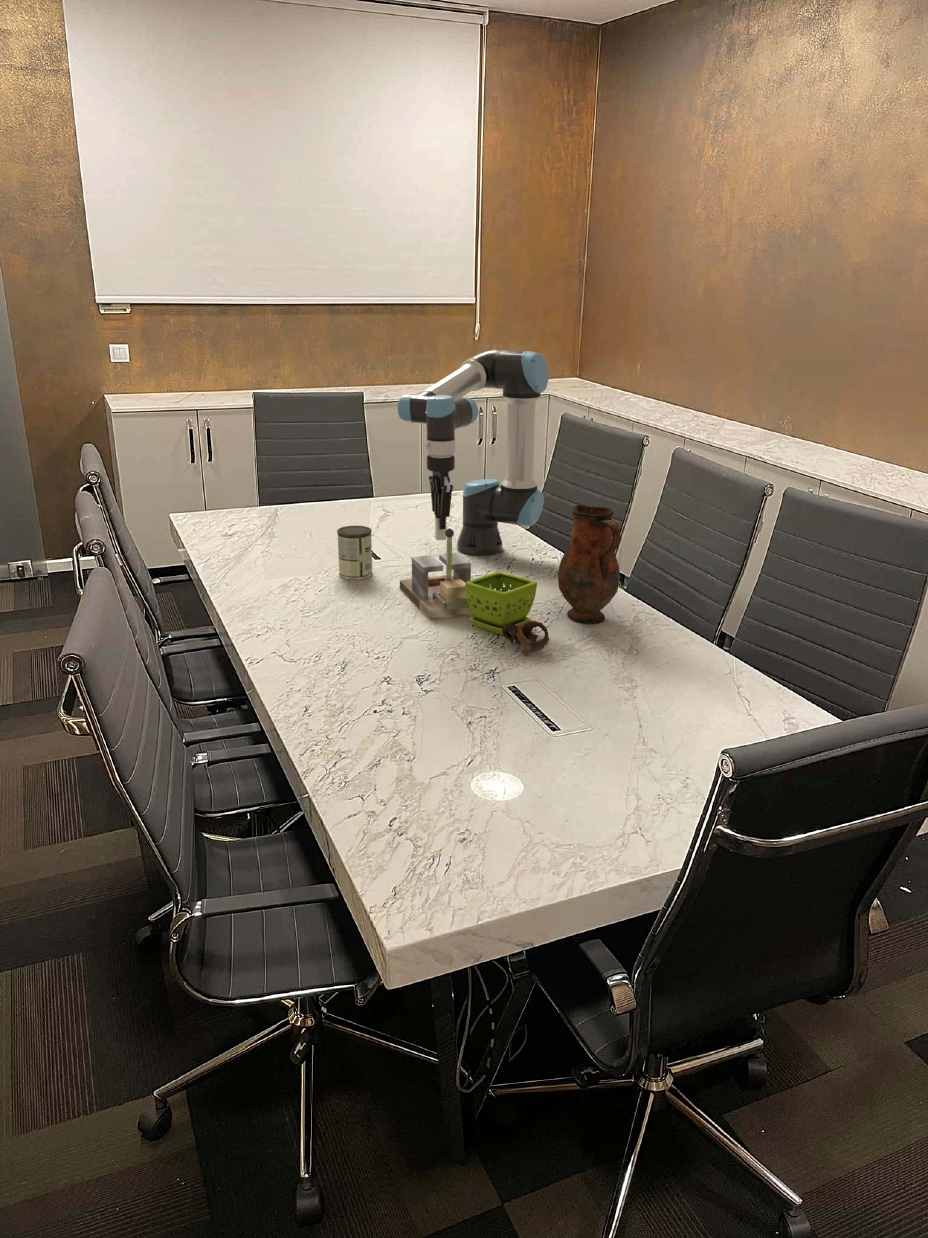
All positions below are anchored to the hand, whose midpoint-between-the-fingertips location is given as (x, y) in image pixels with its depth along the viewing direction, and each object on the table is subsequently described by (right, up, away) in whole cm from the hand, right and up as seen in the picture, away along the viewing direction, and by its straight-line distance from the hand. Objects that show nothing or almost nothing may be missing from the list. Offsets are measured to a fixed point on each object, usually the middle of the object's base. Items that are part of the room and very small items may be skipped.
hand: (440, 539), depth 257 cm
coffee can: (-27, -9, +26) cm, 38 cm away
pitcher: (+40, -23, -7) cm, 47 cm away
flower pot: (+16, -24, -13) cm, 32 cm away
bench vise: (0, -17, +5) cm, 18 cm away
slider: (+4, -18, -5) cm, 19 cm away
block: (+4, -18, -5) cm, 19 cm away
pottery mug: (+22, -30, -26) cm, 45 cm away
